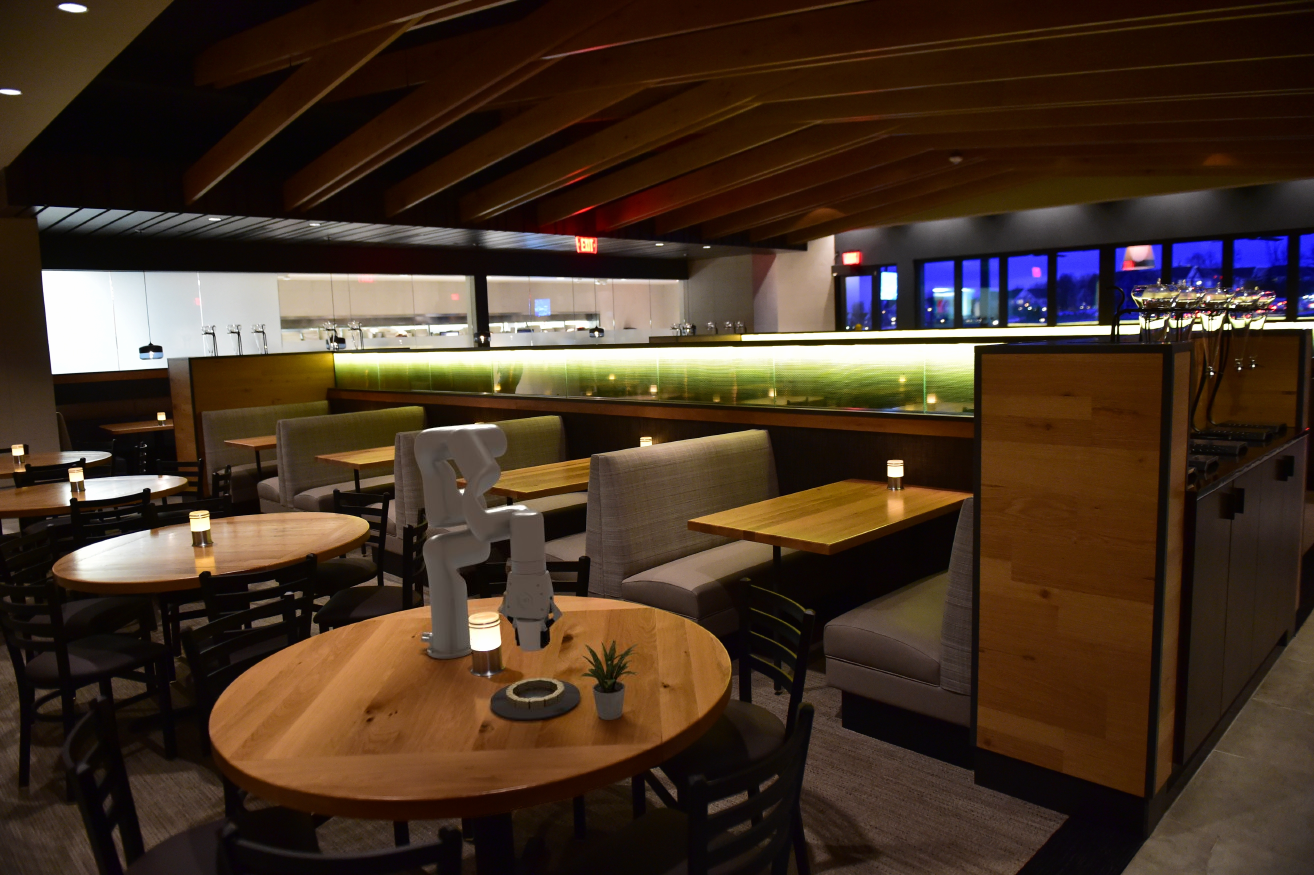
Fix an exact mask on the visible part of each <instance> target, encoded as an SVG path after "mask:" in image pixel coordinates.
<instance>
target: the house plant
mask: <svg viewBox="0 0 1314 875" xmlns="http://www.w3.org/2000/svg"><path fill="white" fill-rule="evenodd" d="M616 644H617V642H616V639H612V643H611V645H610V647H609V650H607V649H606V646H605V645H604V642H602V641H601V646H602V649H603V654H602V656H603V657H604V662H605V663H604V664H605V667H606V668H604V665H603V662H602V661H601V659H600V658H599V656H598V654H597V652H596V651H595V650H593V649H592V647H590V646H589V645H587V644H584V646H585V647H586V649H587V650H588V652H589V653H590V654H589V655H590V656H591V658H592V660H591V659H590V658H588V657H587V656H584V655H582V658H583V659H585V660H587V662H588V663H589V664H591V665H592V667H593V668H592V667H591V668H588V672H585V673H582V674H581V675H580V676H579V677H585V678H586V677H589V678H595V679H596V680H597V682H596V683H595V684H594V685H593V686H592V693H593V697H594V702H595V708H596V711H597V717H599V718H600V719H601V720H605V721H610V720H611V721H613V720H616V719H619V718H621V716H622V715H623V708H624V699H625V693H626V692H625V691H626V685H625V683H624V682H622V681H623V680H624V679H625V677H623V678H622V680H620V681H618V678H620V677H621V676H623V675H626V674H627V675H626V677H628V676H629V675H635V676H637V675H636V674H638V672H637V671H636V672H635V671H631V670H629V671H628V670H627V669H628V668H630V666H628V665H627V664H628V663H631V662H632V661H633V660H632V659H630V660H627V661H624V660H626V659H625V658H627V657H629V656H632V655H639V654H641V653H639V652H633V651H634V648H635V647H637V646H638V645H639V643H637V644H633V645H632V646H630V647H629V648H627V649H626V650H625V651H624V652H623V653H620V654H618V655H616V653H617V651H616ZM617 659H618V660H617ZM615 660H617V662H615ZM625 670H627V671H625ZM637 678H638V677H637Z"/></svg>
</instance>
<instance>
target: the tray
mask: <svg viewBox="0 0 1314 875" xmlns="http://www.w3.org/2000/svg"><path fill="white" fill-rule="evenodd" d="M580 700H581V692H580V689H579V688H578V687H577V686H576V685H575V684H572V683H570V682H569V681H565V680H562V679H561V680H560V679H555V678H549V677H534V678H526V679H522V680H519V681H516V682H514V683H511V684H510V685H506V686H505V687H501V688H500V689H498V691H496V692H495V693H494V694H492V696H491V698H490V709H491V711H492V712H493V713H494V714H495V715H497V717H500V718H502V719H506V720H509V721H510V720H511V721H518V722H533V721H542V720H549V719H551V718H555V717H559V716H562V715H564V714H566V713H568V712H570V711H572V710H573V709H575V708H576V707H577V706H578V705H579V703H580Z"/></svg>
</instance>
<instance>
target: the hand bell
mask: <svg viewBox="0 0 1314 875" xmlns="http://www.w3.org/2000/svg"><path fill="white" fill-rule="evenodd" d="M507 560H511V557H508V558H506V561H507ZM511 571H512V570H511V566H507V562H506V564H505V574H506V577H507V578H508V574H509V572H511ZM505 604H506V590H505V591H504V592H503V596H502V601H501V604H500V606H498V608H497V612H499V613H501V609H502V608H503V607H504V605H505Z"/></svg>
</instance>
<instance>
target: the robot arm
mask: <svg viewBox="0 0 1314 875" xmlns="http://www.w3.org/2000/svg"><path fill="white" fill-rule="evenodd" d="M507 449H508V438H507V436H506V434H505V432H504V430H503V429H502V428H501V427H500V426H499V425H497V424H495V423H488V424H487V423H486V424H485V423H484V424H483V423H475V424H473V423H472V424H471V423H470V424H462V425H452V426H451V425H448V426H440V427H433V428H427V429H423V430H421V431H420V432H419V433H417V435H416V437H415V439H414V443H413V454H414V457H415V461H416V463H417V466H418V469H419V470H420V475H421V477H422V478H421V480H422V488H423V500H424V508H425V509H424V511H425V517H426V518H425V519H426V521H427V524H428V525H429V527H430V528H433V529H436V530H437V529H438V530H441V529H449V528H454V527H461V526H466V528H465V529H461V530H454V531H448V532H445V533H439V534H436V535H432V536H431V537H429V538H428V539H427V540H426V541H425V542H424V543H423V547H422V555H423V559H424V563H425V566H426V567H425V568H426V572H427V578H428V589H429V604H430V618H431V632H428V631H426V632H425V631H424V632H422V634H421V638H420V641H421V643H428V645H429V646H428V647H427V650H426V651H427V655H428V656H429V657H431V658H434V659H440V660H441V659H443V660H446V659H450V660H451V659H456V658H461V657H464V656H468V655H470V654H472V653H471V645H470V639H471V638H470V637H471V636H470V626H469V625H470V624H469V623H470V621H469V606H468V605H469V602H468V590H467V584H466V580H465V579H464V578H463V576H461V575H460V573H459V572H458V571H457V569H459V568H463V567H468V566H472V565H477V564H481V563H483V562H486V561H487V560H488V559H489V557H490V553H491V543H495V542H500V541H505V540H510V542H509V543H510V558H511V560H507V559H506V563H507V566H511V570H512V571H511V572H509V574H508V577H507V580H506V581H507V582H506V590H505V591H506V604H505V605H504V607H503V608H502V609H501V612H500V614H502V615H503V616H504V617H505V618H506V619H507V621H508V622H509V623H510V624H511V628H513V630H514V639H515V642H516V646H517V647H520V641H519V635H518V628H517V622H516V618H525V619H539V620H542V621H541V628H542V631H540V647H541V648H544V649H545V648H546V647H547V646H548V645H549V644H550V642H551V631H550V629H551V627H552V626H554V624H555V623H556V622H557V621H558V620H559V619H561V618H562V617H563V616H564V614H563V612H562V611H561V610H560V608H559V607H558V606H557V605H556V603H555V598H554V587H553V584H552V579H551V578H552V577H551V574H550V572H549V570H547V563H546V561H547V560H546V540H545V537H546V536H545V523H544V521H545V519H544V515H543V513H542V512H541V511H539V510H537V509H532V508H530V507H529V506H528V505H526V504H523V503H517V504H510V505H504V506H498V507H491V508H488V505H487V501H486V498H485V496H484V494H485V493H486V492H487V491H489V490H491V489H492V488H493V487H494V486H495V485H497V484H498V482H499V481H500V479H501V476H502V469H501V467H500V465H499V463H498V462H497V460H496V459H495V458H499V457H502V456H503V455H504V454H505V453H506V451H507ZM448 460H453V461H454V463H455V464H456V466H457V468H458V469H459V471H460V474H461V476H462V477H463V479H464V481H465V483H466V485H465V488H460V489H458V486H457V485H458V484H457V482H458V481H457V473H456V472H455V469H454V468H453V467H452V465H451V464H450V463H449V462H448ZM550 614H553V615H552V616H551V617H550ZM546 617H547V622H545V618H546Z"/></svg>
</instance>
